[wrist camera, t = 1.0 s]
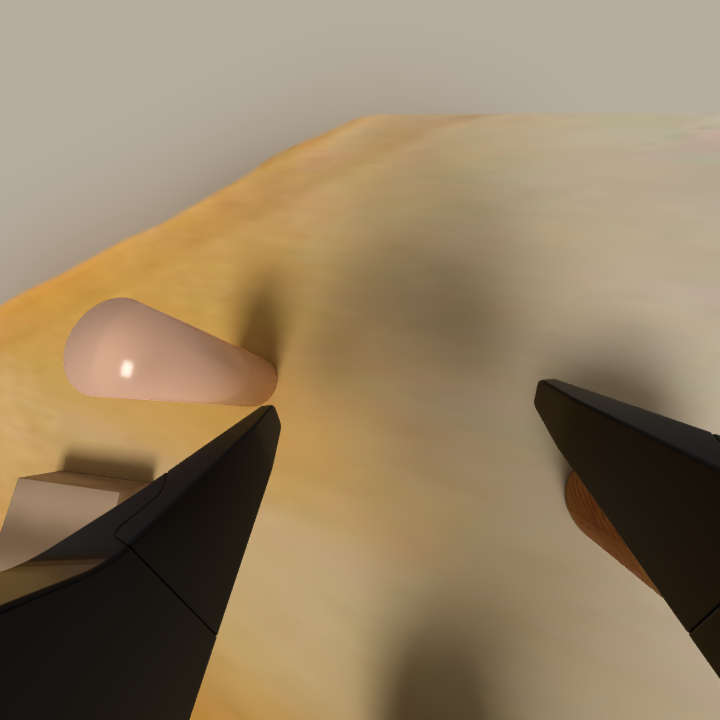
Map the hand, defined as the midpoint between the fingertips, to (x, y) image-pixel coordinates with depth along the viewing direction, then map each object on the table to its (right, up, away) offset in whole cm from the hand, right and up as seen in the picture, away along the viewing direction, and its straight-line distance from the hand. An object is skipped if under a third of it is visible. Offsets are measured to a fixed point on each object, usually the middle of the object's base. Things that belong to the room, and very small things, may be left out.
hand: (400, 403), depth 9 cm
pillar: (-12, -1, +16) cm, 20 cm away
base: (-26, -14, +14) cm, 33 cm away
